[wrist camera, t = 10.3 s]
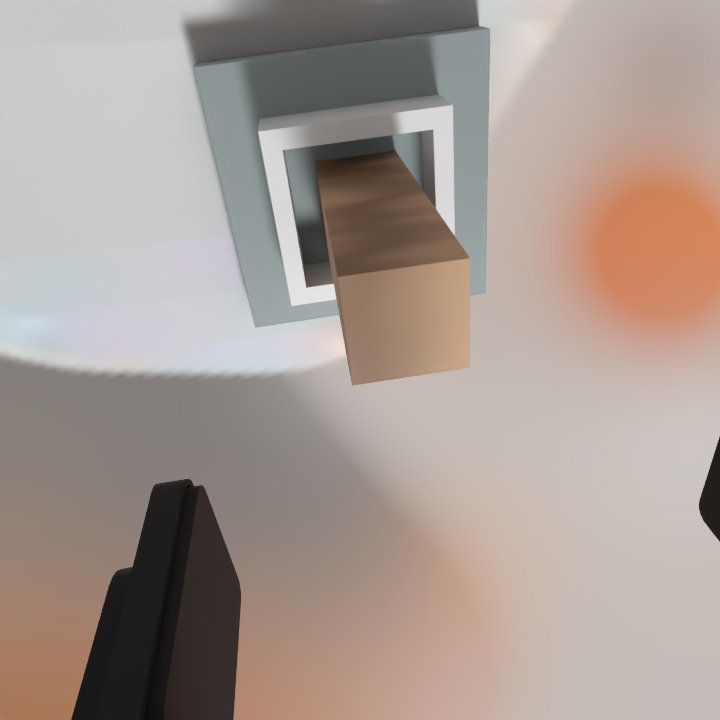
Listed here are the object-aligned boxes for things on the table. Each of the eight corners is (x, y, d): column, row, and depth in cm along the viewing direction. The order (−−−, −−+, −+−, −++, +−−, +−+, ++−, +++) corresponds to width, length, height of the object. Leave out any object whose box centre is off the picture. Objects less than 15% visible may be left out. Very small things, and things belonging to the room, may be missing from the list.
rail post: (395, 150, 26) (469, 258, 16) (400, 228, 28) (469, 367, 18) (314, 161, 25) (337, 276, 15) (325, 238, 27) (352, 385, 17)
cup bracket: (479, 26, 25) (510, 32, 21) (477, 280, 31) (500, 316, 28) (197, 62, 24) (184, 76, 21) (256, 313, 31) (253, 353, 28)
